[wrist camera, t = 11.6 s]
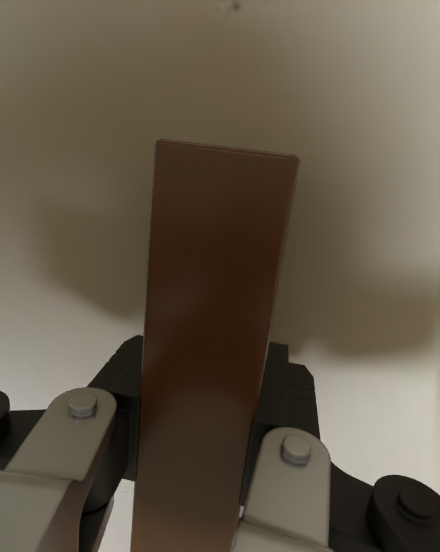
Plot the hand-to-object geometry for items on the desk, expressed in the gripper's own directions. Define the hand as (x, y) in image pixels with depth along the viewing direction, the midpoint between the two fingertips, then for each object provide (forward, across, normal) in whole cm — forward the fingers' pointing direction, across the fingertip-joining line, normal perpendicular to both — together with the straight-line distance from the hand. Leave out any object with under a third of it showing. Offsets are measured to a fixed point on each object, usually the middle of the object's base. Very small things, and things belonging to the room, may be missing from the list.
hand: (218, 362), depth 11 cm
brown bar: (0, 0, +3) cm, 3 cm away
